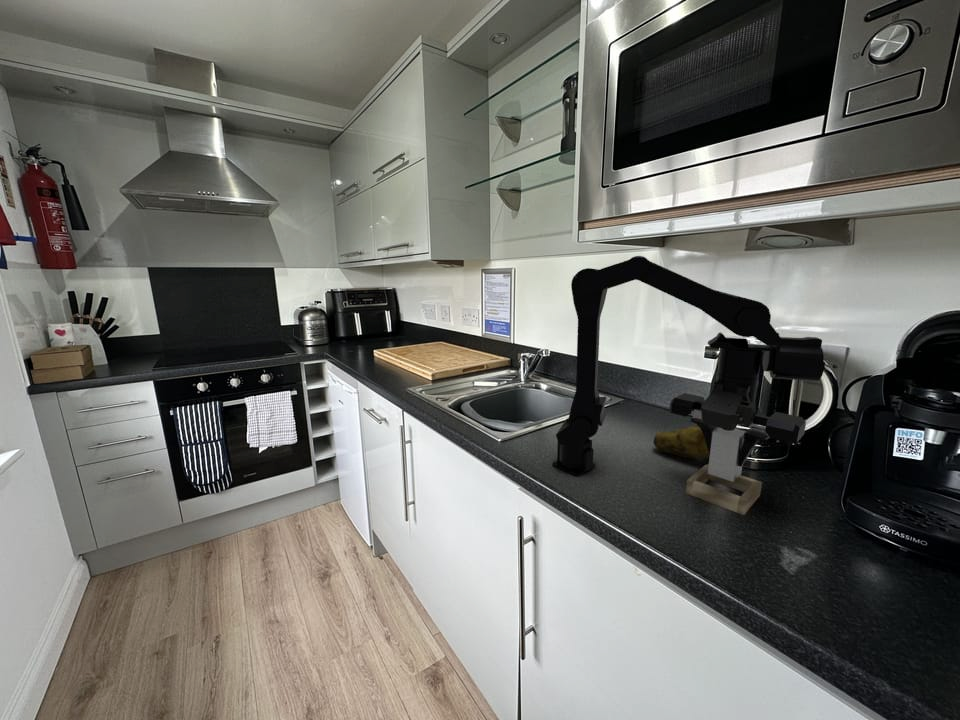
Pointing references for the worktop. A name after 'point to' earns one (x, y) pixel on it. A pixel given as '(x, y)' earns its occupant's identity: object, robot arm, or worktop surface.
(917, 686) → the worktop surface
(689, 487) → the frame
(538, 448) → the worktop surface
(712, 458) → the brushed grey square prism
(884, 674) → the worktop surface
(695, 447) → the potato
